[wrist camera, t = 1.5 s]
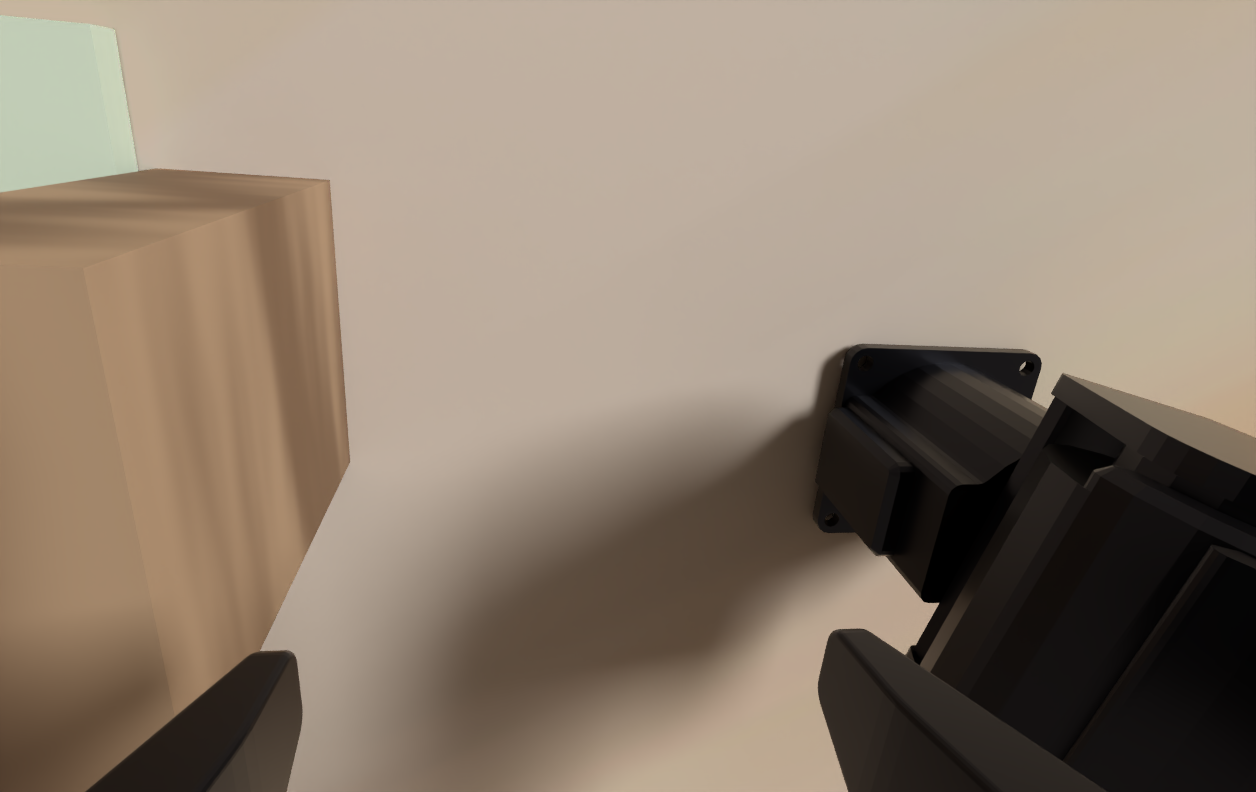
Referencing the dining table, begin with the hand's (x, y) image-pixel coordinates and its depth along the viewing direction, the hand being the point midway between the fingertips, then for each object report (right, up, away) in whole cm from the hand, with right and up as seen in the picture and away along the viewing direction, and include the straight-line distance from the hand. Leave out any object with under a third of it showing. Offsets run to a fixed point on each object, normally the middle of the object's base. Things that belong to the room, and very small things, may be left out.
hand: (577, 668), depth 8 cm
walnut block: (-9, +5, +11) cm, 15 cm away
